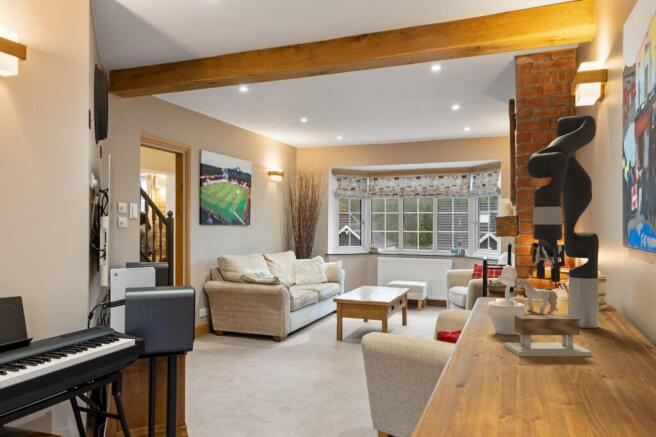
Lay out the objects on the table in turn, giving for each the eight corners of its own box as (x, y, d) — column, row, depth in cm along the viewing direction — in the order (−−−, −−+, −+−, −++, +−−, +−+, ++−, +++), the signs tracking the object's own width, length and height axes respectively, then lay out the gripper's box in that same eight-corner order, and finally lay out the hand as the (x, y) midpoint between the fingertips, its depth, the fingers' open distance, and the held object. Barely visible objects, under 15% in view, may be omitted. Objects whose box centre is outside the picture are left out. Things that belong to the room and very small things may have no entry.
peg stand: (504, 346, 137) (504, 328, 137) (571, 346, 137) (571, 329, 137) (519, 356, 127) (519, 337, 127) (591, 356, 127) (591, 337, 127)
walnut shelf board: (569, 330, 135) (569, 315, 135) (579, 335, 129) (579, 318, 130) (514, 330, 134) (514, 315, 134) (522, 335, 129) (522, 318, 129)
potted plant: (496, 327, 163) (496, 256, 163) (530, 333, 154) (530, 257, 155) (479, 333, 154) (479, 257, 154) (514, 339, 145) (514, 259, 146)
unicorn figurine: (513, 308, 202) (513, 277, 202) (562, 313, 190) (562, 280, 190) (507, 310, 196) (507, 278, 197) (558, 316, 184) (557, 282, 185)
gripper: (574, 223, 126) (574, 283, 126) (548, 223, 140) (548, 277, 140) (546, 223, 126) (546, 283, 126) (523, 223, 140) (523, 277, 140)
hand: (547, 280), depth 133 cm, fingers open, 8 cm apart
